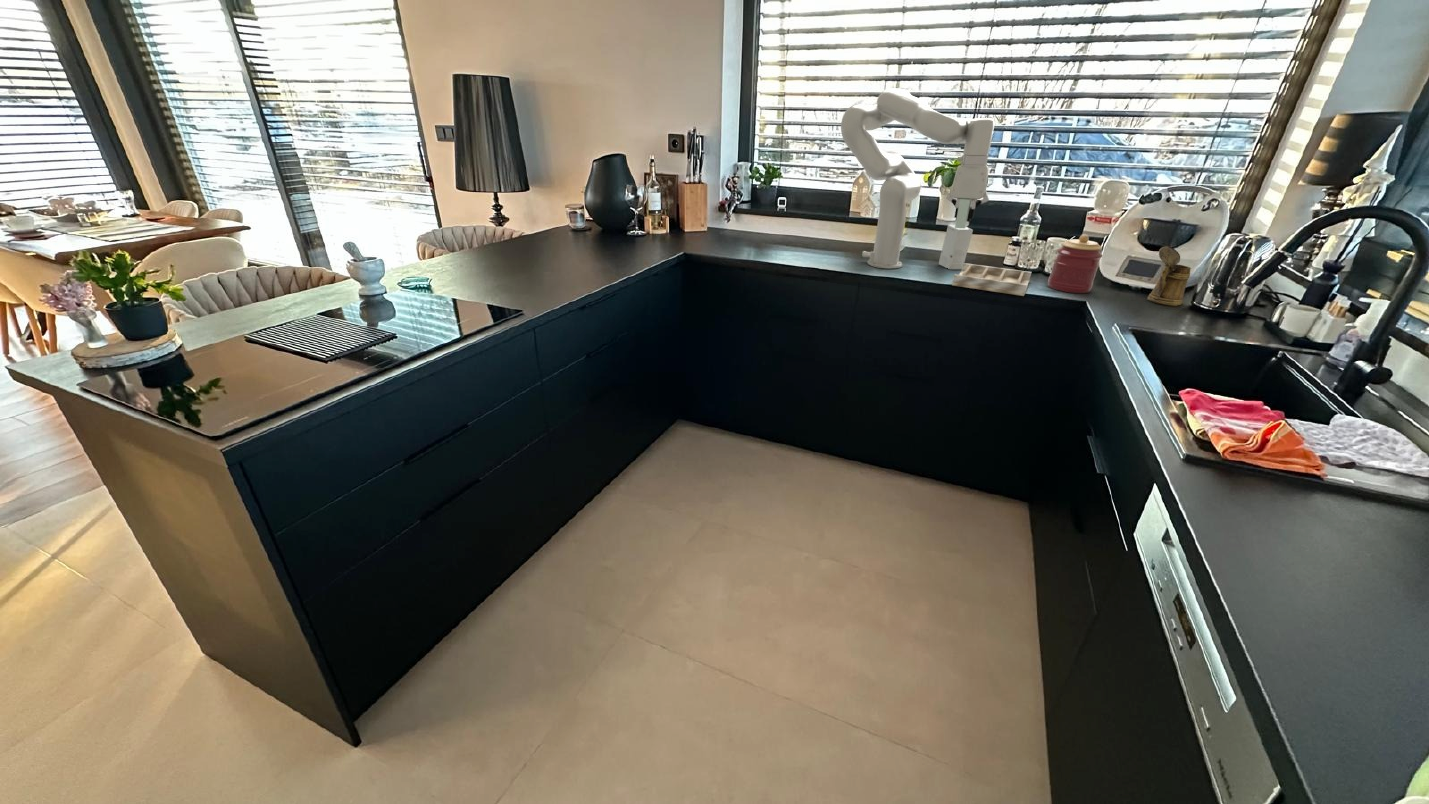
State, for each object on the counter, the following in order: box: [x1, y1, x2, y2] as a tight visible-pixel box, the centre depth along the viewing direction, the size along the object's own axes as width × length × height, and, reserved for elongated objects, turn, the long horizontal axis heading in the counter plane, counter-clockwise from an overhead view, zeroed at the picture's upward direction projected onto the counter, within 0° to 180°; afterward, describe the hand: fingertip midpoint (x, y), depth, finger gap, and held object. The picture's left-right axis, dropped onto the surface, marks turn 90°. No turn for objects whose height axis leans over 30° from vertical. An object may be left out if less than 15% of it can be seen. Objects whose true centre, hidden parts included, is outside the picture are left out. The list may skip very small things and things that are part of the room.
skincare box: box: [938, 224, 974, 270], centre depth 207 cm, size 8×6×15 cm
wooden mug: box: [1146, 245, 1192, 307], centre depth 170 cm, size 9×14×18 cm, turn 110°
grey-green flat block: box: [954, 199, 972, 228], centre depth 185 cm, size 3×8×9 cm, turn 149°
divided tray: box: [951, 262, 1032, 297], centre depth 189 cm, size 22×20×4 cm
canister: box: [1047, 234, 1103, 294], centre depth 183 cm, size 13×13×18 cm
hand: (963, 220), depth 187 cm, fingers closed on grey-green flat block, 3 cm apart
